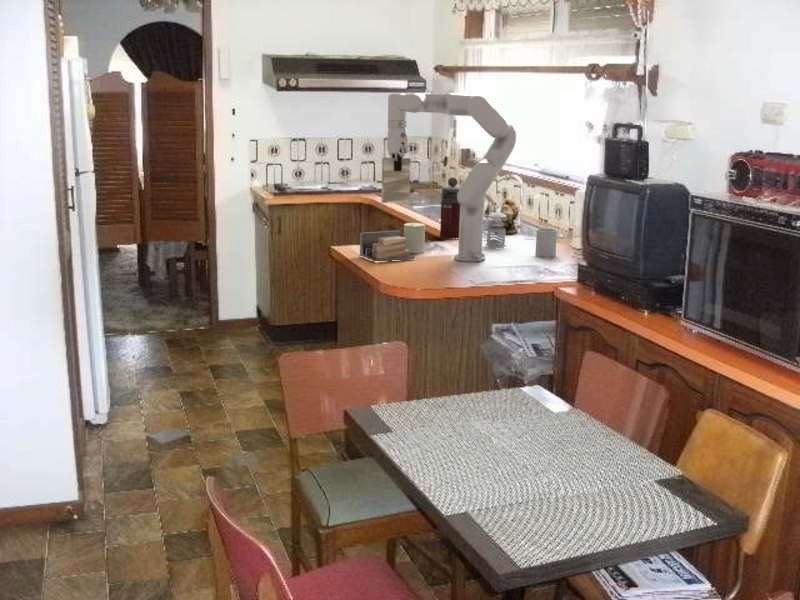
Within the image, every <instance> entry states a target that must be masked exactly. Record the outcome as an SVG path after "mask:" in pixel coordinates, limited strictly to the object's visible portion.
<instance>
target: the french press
mask: <svg viewBox="0 0 800 600" xmlns="http://www.w3.org/2000/svg"><path fill="white" fill-rule="evenodd" d="M495 193H496V194H497V197H499V194H501V193H502V192H501V190H500V189H499V190H497V191H496V192H495ZM496 210H497V211H496V212H492V213H490V214H488V215H487V216H488V218H486V219H483V224H484V223H485V222H486V221H487V222H488V223H489V221H490V219H489V218H493V219H500V218H506V215H505V214H503V213H500V211H499V206H497V209H496ZM488 226H489V227H488V228H487V233H485V232H484V231H482V234H483V235H485V236H486V244H485V245H486V246H488V247H492V248H491V249H496V248H501V249H505V248H504V247H506V246H507V244H506V235H505V228H502V227H504V226H505V225H504V224H502V223H495V222H494V223H489V224H488ZM494 229H495V230H494ZM494 232H495V233H494ZM496 233H497V234H496ZM488 247H487V248H488ZM506 248H507V247H506Z"/></svg>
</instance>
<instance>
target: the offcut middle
mask: <svg viewBox="0 0 800 600" xmlns="http://www.w3.org/2000/svg"><path fill="white" fill-rule="evenodd" d="M405 246H406V244H401V245H392V246H383V245H379V244H373V250H374V251H376V252H392V251H405Z"/></svg>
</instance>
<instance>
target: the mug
mask: <svg viewBox="0 0 800 600" xmlns="http://www.w3.org/2000/svg"><path fill="white" fill-rule="evenodd" d="M557 236H558V230H556V229H553V228H538V229H536V236H535V237H536V238H535V239H536V240H535V253H534V255H535V257H539V258H546V257H550V258H555V257H556V253H557V241H558V240H557Z"/></svg>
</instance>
